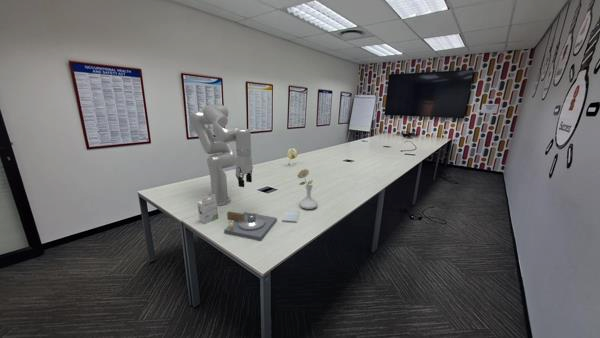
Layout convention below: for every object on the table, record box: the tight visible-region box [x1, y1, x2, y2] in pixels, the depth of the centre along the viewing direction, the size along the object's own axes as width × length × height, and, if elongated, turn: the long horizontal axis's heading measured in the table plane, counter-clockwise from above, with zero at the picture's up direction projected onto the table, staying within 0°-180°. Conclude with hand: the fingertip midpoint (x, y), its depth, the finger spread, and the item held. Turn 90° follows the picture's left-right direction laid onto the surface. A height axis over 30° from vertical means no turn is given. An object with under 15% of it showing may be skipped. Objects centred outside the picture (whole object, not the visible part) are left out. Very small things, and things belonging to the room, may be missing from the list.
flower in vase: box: [297, 168, 318, 210], centre depth 143 cm, size 13×11×25 cm
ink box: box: [197, 194, 219, 224], centre depth 126 cm, size 9×5×15 cm, turn 141°
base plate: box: [223, 212, 278, 242], centre depth 121 cm, size 20×20×6 cm
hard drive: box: [281, 209, 300, 224], centre depth 133 cm, size 2×8×12 cm
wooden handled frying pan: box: [226, 211, 265, 230], centre depth 122 cm, size 21×14×4 cm, turn 73°
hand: (245, 184), depth 127 cm, fingers open, 7 cm apart
